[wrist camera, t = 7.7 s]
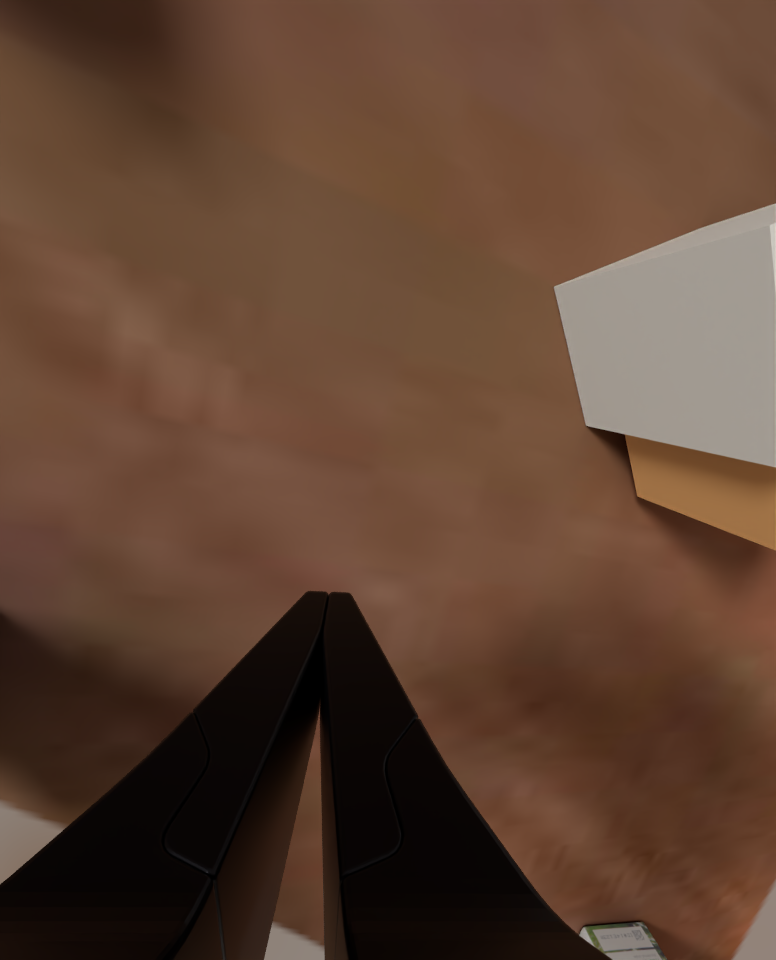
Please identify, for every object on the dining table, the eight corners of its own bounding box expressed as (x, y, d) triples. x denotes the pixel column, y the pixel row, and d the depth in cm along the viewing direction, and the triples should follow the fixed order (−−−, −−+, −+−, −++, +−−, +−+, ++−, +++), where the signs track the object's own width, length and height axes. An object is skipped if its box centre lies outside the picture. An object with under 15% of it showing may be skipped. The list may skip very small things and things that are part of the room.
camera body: (586, 427, 23) (812, 477, 13) (553, 286, 21) (794, 218, 11) (749, 356, 24) (1077, 352, 14) (734, 214, 22) (1109, 90, 12)
